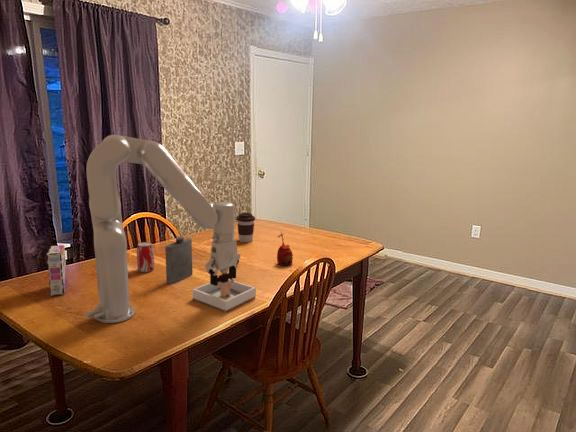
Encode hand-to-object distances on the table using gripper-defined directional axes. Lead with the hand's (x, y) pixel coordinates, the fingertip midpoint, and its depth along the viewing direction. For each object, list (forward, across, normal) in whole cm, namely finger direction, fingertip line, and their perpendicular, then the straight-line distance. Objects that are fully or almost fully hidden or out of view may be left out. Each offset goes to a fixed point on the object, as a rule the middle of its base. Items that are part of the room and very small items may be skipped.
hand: (223, 281), depth 161 cm
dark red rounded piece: (+7, +46, +6) cm, 47 cm away
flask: (+7, +3, +28) cm, 29 cm away
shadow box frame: (+7, 0, 0) cm, 7 cm away
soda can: (+8, 0, +47) cm, 47 cm away
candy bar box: (+8, -34, +54) cm, 64 cm away
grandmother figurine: (+6, 0, 0) cm, 7 cm away
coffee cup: (+7, +62, +44) cm, 77 cm away
